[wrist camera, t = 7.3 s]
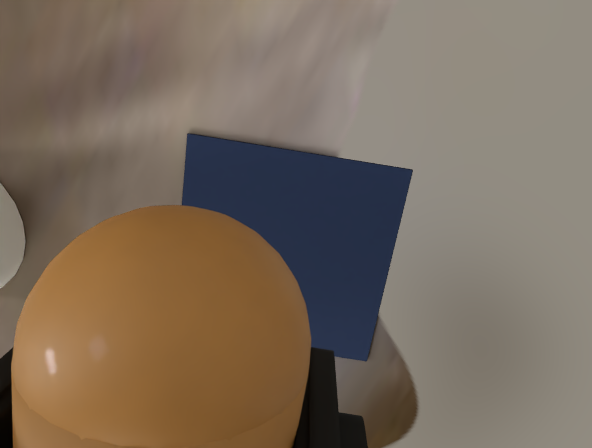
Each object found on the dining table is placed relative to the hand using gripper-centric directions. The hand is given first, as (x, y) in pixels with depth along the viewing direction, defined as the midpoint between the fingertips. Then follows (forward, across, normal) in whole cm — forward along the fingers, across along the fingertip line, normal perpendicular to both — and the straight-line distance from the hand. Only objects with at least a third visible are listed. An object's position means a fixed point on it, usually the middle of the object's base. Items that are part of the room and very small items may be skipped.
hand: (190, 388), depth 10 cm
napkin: (+16, -2, +3) cm, 16 cm away
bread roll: (0, 0, 0) cm, 0 cm away
